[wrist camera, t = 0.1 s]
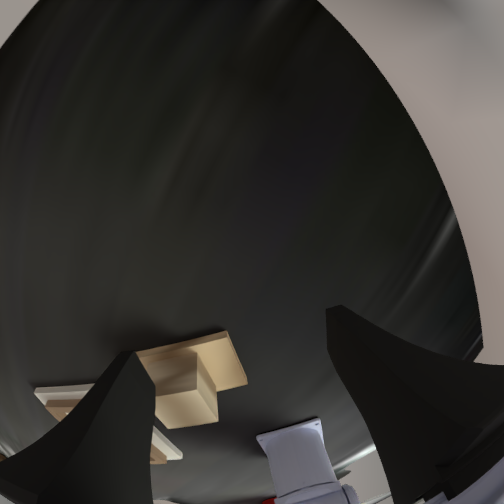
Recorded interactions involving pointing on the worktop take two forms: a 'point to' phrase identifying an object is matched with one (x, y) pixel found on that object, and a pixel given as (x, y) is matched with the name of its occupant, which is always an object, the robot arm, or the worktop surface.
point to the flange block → (192, 378)
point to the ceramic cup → (269, 501)
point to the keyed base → (68, 397)
